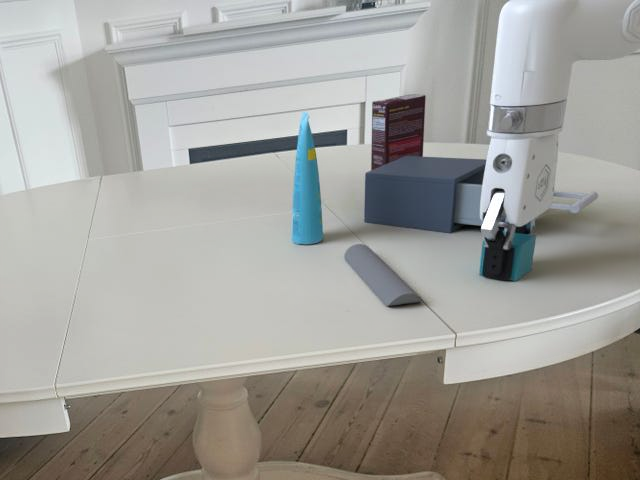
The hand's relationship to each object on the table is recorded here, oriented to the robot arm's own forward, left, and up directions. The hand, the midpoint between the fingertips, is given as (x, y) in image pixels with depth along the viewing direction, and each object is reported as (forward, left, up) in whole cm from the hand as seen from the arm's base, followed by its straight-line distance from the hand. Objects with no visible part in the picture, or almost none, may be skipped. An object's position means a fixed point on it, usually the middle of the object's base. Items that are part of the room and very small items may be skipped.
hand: (505, 269), depth 79 cm
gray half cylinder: (+12, +9, -1) cm, 15 cm away
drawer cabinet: (+20, -18, 0) cm, 27 cm away
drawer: (+7, -18, +1) cm, 19 cm away
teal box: (0, 0, 0) cm, 0 cm away
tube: (+30, 0, -1) cm, 30 cm away
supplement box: (+35, -35, -1) cm, 50 cm away
